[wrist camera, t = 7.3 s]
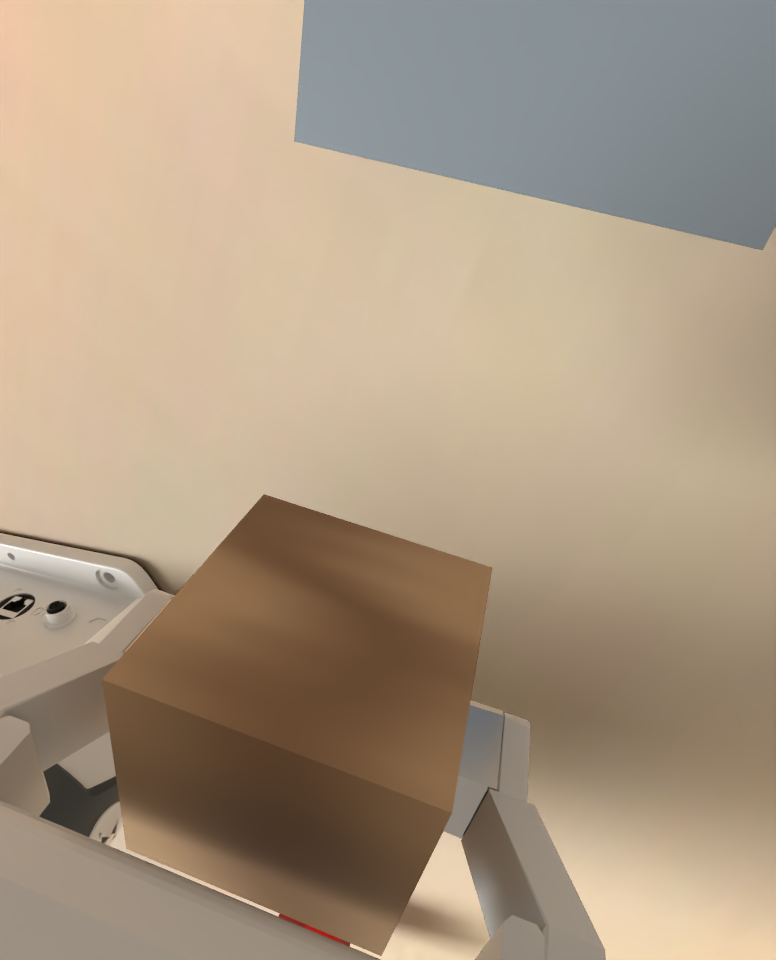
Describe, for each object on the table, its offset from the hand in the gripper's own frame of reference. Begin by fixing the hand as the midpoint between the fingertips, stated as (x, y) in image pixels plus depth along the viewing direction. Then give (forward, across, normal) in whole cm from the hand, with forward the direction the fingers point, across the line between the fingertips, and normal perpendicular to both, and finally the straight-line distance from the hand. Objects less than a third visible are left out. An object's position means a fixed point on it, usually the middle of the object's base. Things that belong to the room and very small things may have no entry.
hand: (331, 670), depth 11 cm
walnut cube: (+2, 0, 0) cm, 2 cm away
